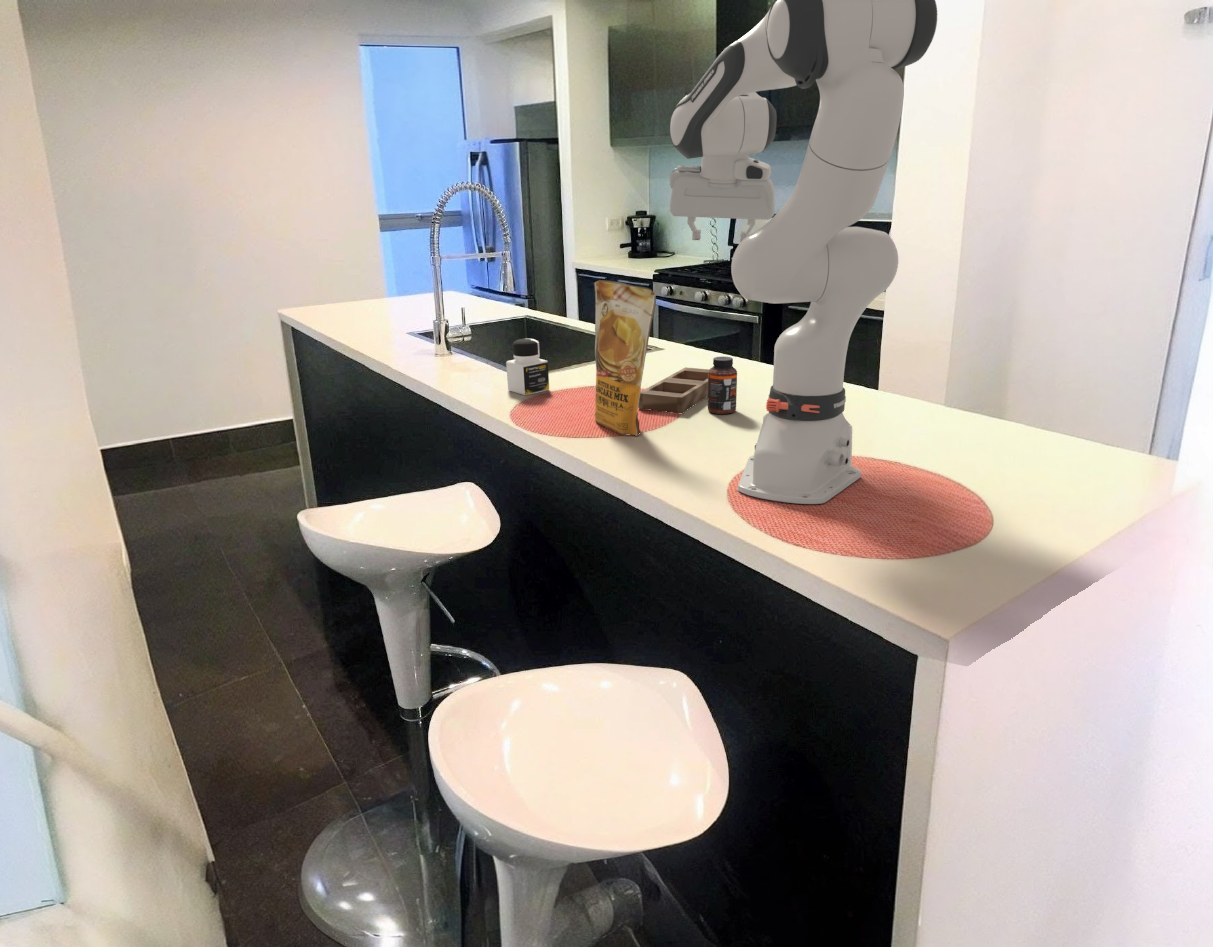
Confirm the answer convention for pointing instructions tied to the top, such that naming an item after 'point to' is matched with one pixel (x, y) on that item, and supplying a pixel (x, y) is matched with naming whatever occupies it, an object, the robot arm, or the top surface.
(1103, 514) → the top surface
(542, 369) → the medicine bottle
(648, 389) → the rail
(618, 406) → the pancake mix bag
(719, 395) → the supplement bottle
